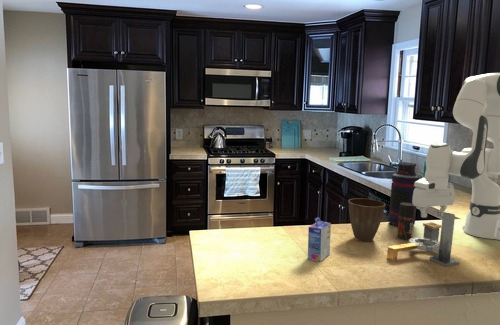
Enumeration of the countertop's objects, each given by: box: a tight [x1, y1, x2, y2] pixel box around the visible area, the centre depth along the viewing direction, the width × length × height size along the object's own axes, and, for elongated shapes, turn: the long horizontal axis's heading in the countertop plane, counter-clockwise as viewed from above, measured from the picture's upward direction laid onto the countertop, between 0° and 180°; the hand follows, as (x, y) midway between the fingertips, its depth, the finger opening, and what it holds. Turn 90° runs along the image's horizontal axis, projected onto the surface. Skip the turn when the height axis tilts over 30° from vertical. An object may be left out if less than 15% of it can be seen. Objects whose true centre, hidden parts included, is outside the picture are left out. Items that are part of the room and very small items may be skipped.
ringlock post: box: [386, 212, 460, 267], centre depth 153 cm, size 23×18×18 cm
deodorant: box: [396, 202, 415, 241], centre depth 177 cm, size 6×6×15 cm
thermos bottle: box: [388, 161, 421, 227], centre depth 196 cm, size 14×12×30 cm
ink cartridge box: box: [307, 216, 332, 262], centre depth 152 cm, size 10×6×14 cm, turn 149°
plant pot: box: [348, 197, 386, 243], centre depth 174 cm, size 15×15×16 cm
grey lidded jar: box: [422, 221, 442, 246], centre depth 169 cm, size 5×5×9 cm
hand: (432, 216), depth 167 cm, fingers open, 8 cm apart
